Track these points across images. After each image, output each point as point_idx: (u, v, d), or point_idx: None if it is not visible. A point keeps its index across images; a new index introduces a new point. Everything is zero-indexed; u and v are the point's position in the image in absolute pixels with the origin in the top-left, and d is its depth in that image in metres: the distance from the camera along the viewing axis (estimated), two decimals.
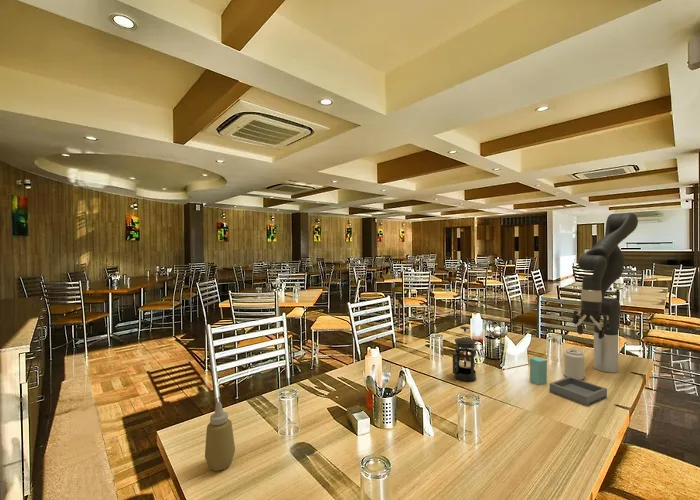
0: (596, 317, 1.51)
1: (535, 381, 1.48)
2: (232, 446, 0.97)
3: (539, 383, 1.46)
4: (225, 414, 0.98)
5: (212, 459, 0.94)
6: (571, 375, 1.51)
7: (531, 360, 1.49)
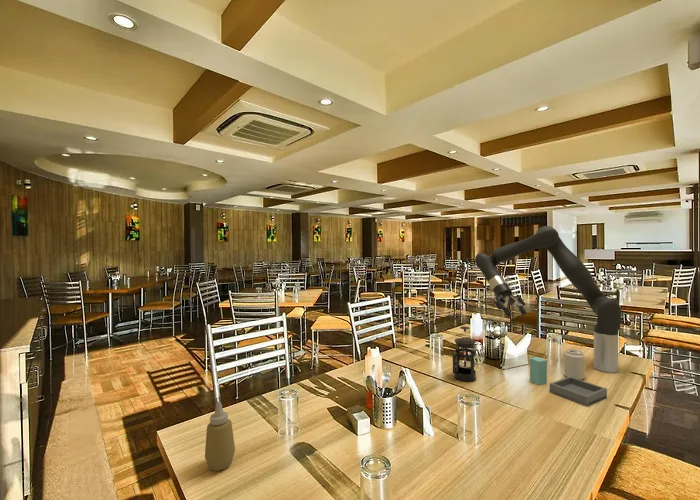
0: None
1: (535, 381, 1.48)
2: (232, 446, 0.97)
3: (539, 383, 1.46)
4: (225, 414, 0.98)
5: (212, 459, 0.94)
6: (571, 375, 1.51)
7: (531, 360, 1.49)
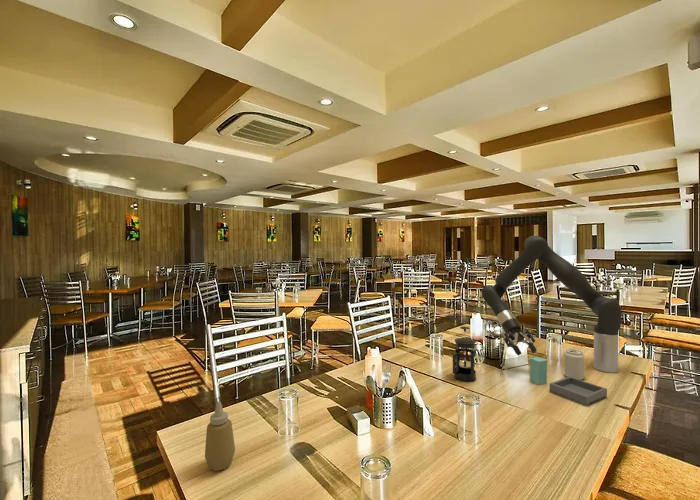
0: None
1: (535, 381, 1.48)
2: (232, 446, 0.97)
3: (539, 383, 1.46)
4: (225, 414, 0.98)
5: (212, 459, 0.94)
6: (571, 375, 1.51)
7: (531, 360, 1.49)
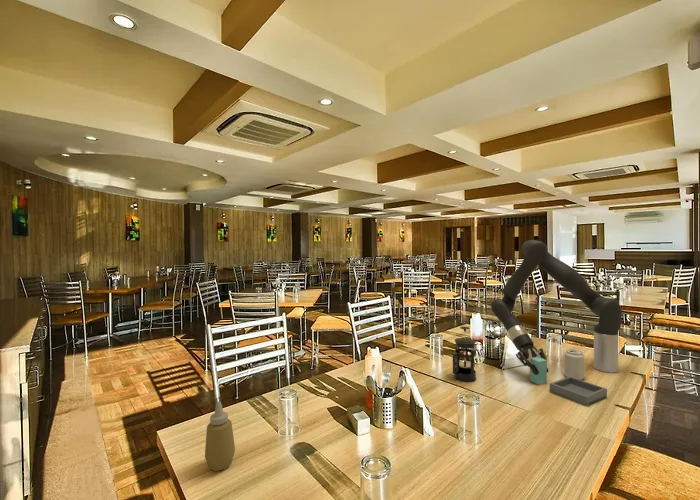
0: None
1: (535, 381, 1.48)
2: (232, 446, 0.97)
3: (539, 383, 1.46)
4: (225, 414, 0.98)
5: (212, 459, 0.94)
6: (571, 375, 1.51)
7: None
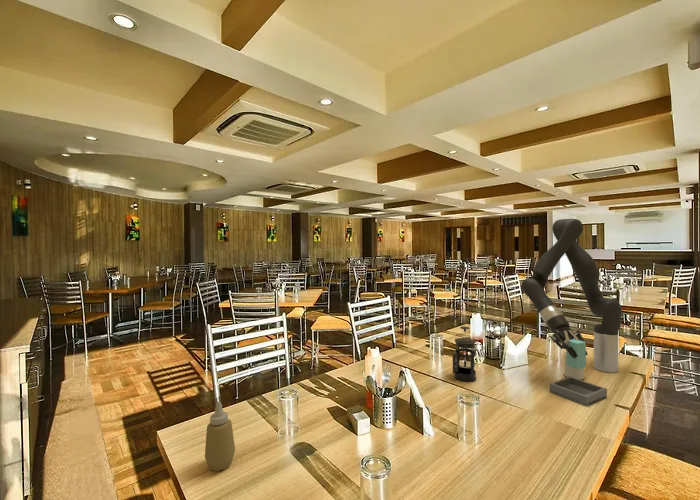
0: None
1: (573, 365, 1.36)
2: (232, 446, 0.97)
3: (578, 367, 1.34)
4: (225, 414, 0.98)
5: (212, 459, 0.94)
6: (571, 375, 1.51)
7: None
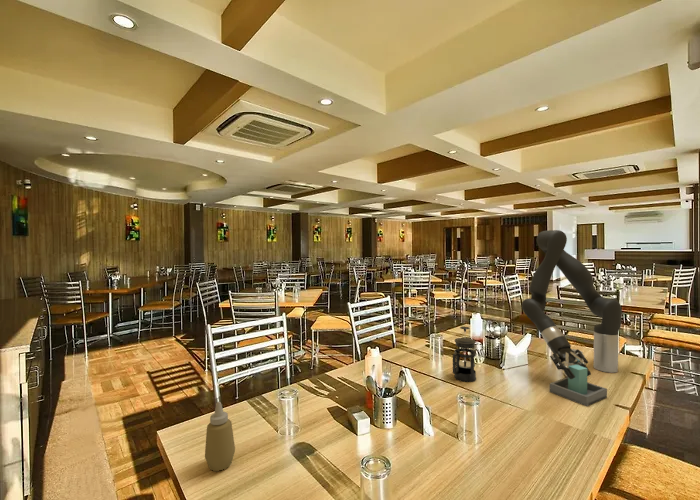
0: None
1: None
2: (232, 446, 0.97)
3: None
4: (225, 414, 0.98)
5: (212, 459, 0.94)
6: None
7: (570, 368, 1.37)
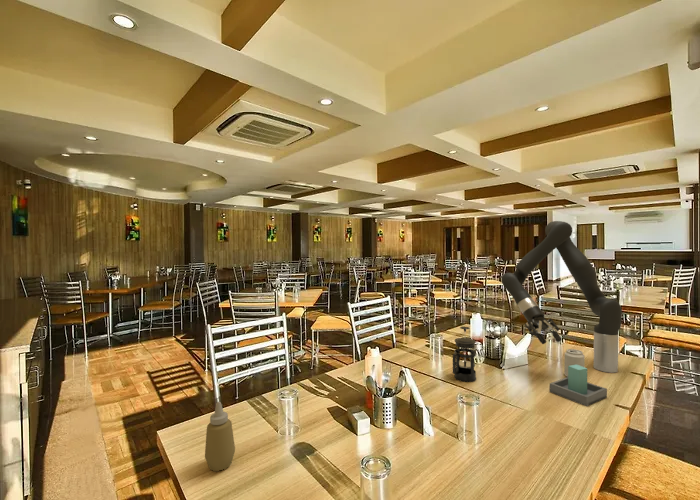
0: None
1: None
2: (232, 446, 0.97)
3: None
4: (225, 414, 0.98)
5: (212, 459, 0.94)
6: None
7: (570, 368, 1.37)
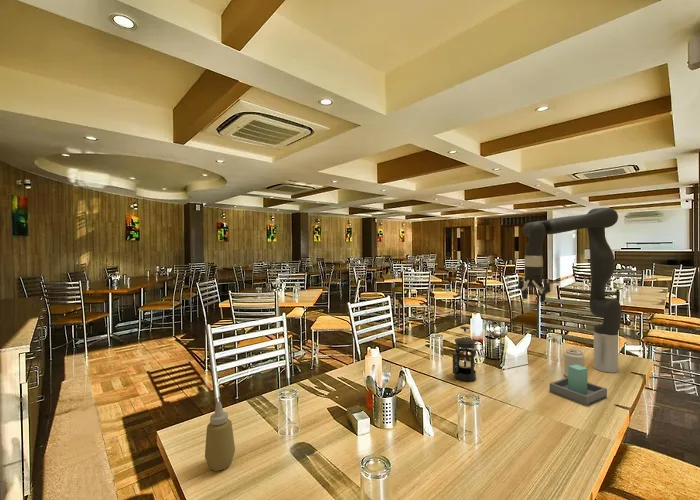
0: (538, 281, 1.57)
1: None
2: (232, 446, 0.97)
3: None
4: (225, 414, 0.98)
5: (212, 459, 0.94)
6: None
7: (570, 368, 1.37)
